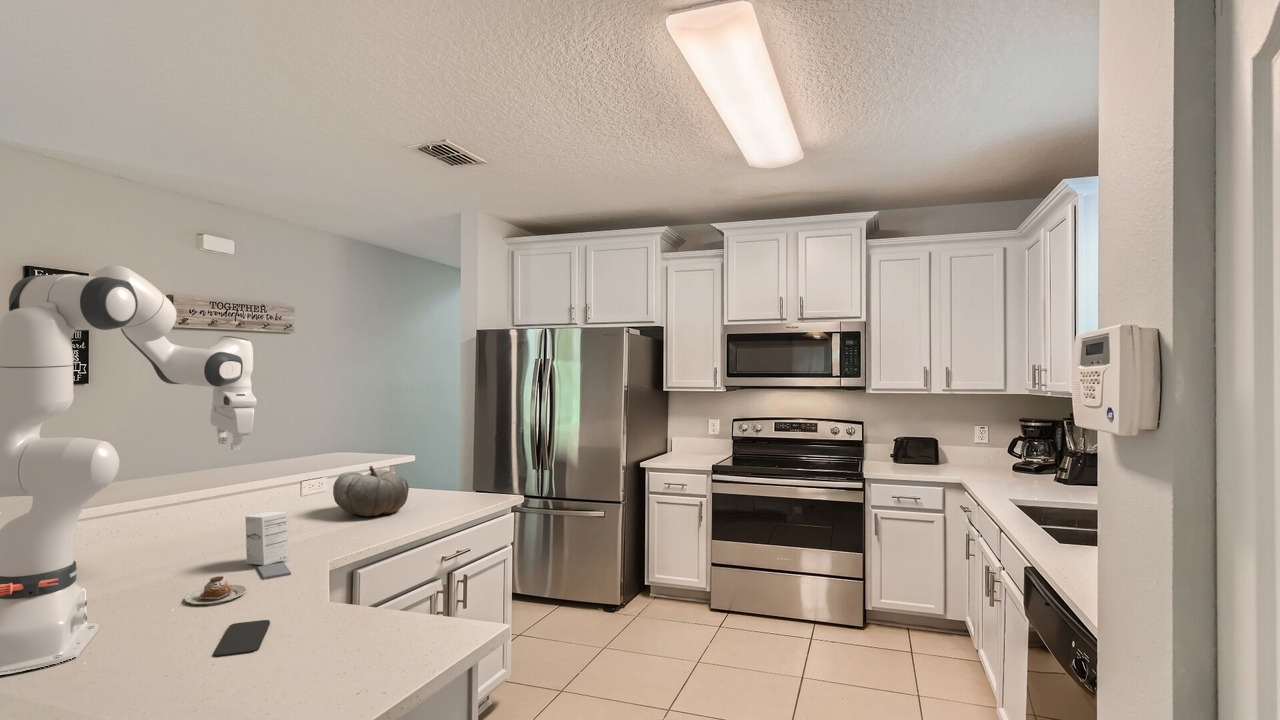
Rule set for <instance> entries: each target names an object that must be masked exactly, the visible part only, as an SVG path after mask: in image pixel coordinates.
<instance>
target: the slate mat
mask: <svg viewBox="0 0 1280 720" xmlns="http://www.w3.org/2000/svg"><path fill="white" fill-rule="evenodd" d="M257 571H258V572H259V574H260V575H261V577H262V579H263V580H268V579H274V578H279V577H286V576H291V575H292V572H291V570H290V569H289V568H288V566H287V565H286V563H285V562H283V561H282V562H276V563H272V564H268V565H265V566H263V565H258V566H257Z"/></svg>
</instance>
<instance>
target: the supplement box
mask: <svg viewBox="0 0 1280 720" xmlns="http://www.w3.org/2000/svg"><path fill="white" fill-rule="evenodd" d="M288 532H289V529H288V512H286V511H285V512H284V511H265V512H260V513H255V514H254V513H253V514H251V515H246V516H245V541H246V542H245V546H246V547H245V548H246V549H245V550H246V564H247V565H258V566H265V565H270V564H277V563H280V562H283V561H287V560H289V558H290V557H289V554H290V553H289V533H288Z"/></svg>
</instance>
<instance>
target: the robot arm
mask: <svg viewBox="0 0 1280 720" xmlns="http://www.w3.org/2000/svg"><path fill="white" fill-rule="evenodd" d="M177 315H178V313H177V309H176V307H175V306H174V304H173V302H172V301H171V299H169V298H168V297H167V296H166V295H165V294H164V293H163V292H162V291H160V289H158V288H157V287H156V286H154V284H152V283H151V282H150V281H149V280H147V279H146V278H144V277H143V276H141V275H140V274H138V273H137V272H135V271H134V270H132V269H130V268H128V267H125V266H123V265H118V264H117V265H115V264H114V265H107V266H104V267H102V268H101V267H100V268H99V269H97V270H96V271H94V272H93V273H92V274H91V275H90V276H89V275H80V274H74V273H68V274H67V273H64V274H63V273H61V274H49V275H48V274H36V275H30V276H26V277H25V278H22V279H20V280H18V281H17V282H16V283H15V284H14V286H13V287H12V289H11V291H10V295H9V297H8V312H6V313H5V314H3V316H2V317H1V319H0V497H1V498H4V497H5V498H7V497H32V503H31V507H30V509H29V511H28V512H26V513H24V514H21V515H20V516H17V517H16V518H13V519H11V520H10V521H8V522H7V523H5V524H4V525H3V526H2V527H1V528H0V673H1V672H2V673H3V672H8V671H10V672H11V671H16V670H22V669H26V668H33V667H39V666H45V665H50V664H53V663H57V662H62V661H64V660H68V659H71V660H73V659H72V658H74V657H76V658H78V657H79V655H80V654H82V652H83V650H85V648H84V647H87V645H88V644H89V642H90V641H91V640H92V639H93V638H94V636H95V635H96V633H97V632H98V631H99V629H100V628H99V624H98V623H94V622H93V623H92V622H90V623H89V622H87V620H88V618H87V617H88V616H87V605H88V601H87V590H86V589H85V588H84V587H82V586H80V585H79V584H77V582H76V580H77V574H78V567H77V562H76V561H75V560H74V557H75V556H74V555H75V539H76V538H75V537H76V528H77V527H76V526H77V523H78V520H79V518H80V515H81V513H82V511H83V509H84V508H85V507H86V505H87V504H88V502H90V500H91V499H92V498H93V497H94V496H95V495H97V494H98V493H100V491H102V490H104V489H105V488H107V487H108V486H109V485H110V484H111V483H112V482H113V481H114V480H115V478H116V477H117V475H118V472H119V469H120V457H119V454H118V452H117V449H116V448H115V447H114V446H113V445H112V444H111V443H110V442H109V441H107V440H106V441H105V440H102V439H95V438H88V437H81V436H77V437H76V436H75V437H74V436H73V437H41V435H40V434H41V428H42V426H43V424H44V422H46V421H49V420H51V419H53V418H54V417H57V416H59V415H61V414H63V413H64V412H66V411H67V410H69V408H70V407H71V405H72V404H73V402H74V396H75V394H74V355H73V346H72V338H73V336H74V334H75V332H76V331H95V330H101V331H109V330H116V329H120V330H121V332H122V334H123V336H124V337H125V338H126V339H127V340H128V341H129V343H130V344H132V345H133V347H135V349H136V350H137V351H139V353H141V354H142V356H144V357H145V358H146V359H147V361H149V363H150V364H151V366H152V367H153V369H154V371H155V374H156V375H157V376H158V378H159V379H160V380H161V381H162V382H164V383H166V384H169V385H190V386H197V387H210V388H213V389H212V390H213V391H212V404H211V410H210V417H209V418H210V420H209V421H210V425H211V426H214V427H216V434H217V443H218V444H219V445H226V444H227V443H228V437H227V433H229V434H232V439H233V440H232V442H231V443H230V449H231V451H235V452H236V451H240V450H241V444H242V442H243V440H244V437H245V436H250V435H251V433H252V431H253V425H254V419H255V409H254V407H257V404H258V403H257V401H258V400H257V398H256V396H255V395H254V394H253V391H252V390H253V389H252V387H253V385H252V381H251V378H252V374H253V371H254V347H253V343H252V342H251V341H250V340H249V339H247V338H243V337H237V336H233V335H232V336H231V335H223V336H220V337H219V339H218V342H216V343H215V344H213V345H212V346H209V347H207V348H201V347H199V348H198V347H189V346H184V345H178V344H175V343H172V342H170V341H169V340H168V338H167V337H165V336H166V335H167V334H168V333H169V332H170V331H171V330H172V329H173V328H174V326H175V324H176V321H177ZM81 651H82V652H81ZM74 659H75V658H74ZM68 661H69V660H68ZM62 663H63V662H62Z"/></svg>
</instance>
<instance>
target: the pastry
mask: <svg viewBox="0 0 1280 720" xmlns="http://www.w3.org/2000/svg"><path fill="white" fill-rule="evenodd" d="M247 590H248V589H247V587H246V586H244V585H241V584H231V583H230V582H229V581H228V580H226V579H224V576H215V577H211V578H210V579H209V581H208V582H207V583H206V584H205V585H204V587H203V588H201V589H197V590H196V591H192V592H190V593H188V594H187V595H186V596H185V598H184V601H185V603H187V604H189V605H192V606H215V605H220V604H225V603H230V602H231V601H232V600H233V599H235V598H238V597H240V596H242V595H244V594H245V593H247ZM232 593H234V594H235V595H234V596H232V597H231V596H230V597H229V598H227V597H228V596H229V595H231V594H232ZM198 598H199V599H201V600H203V601H207V602H201V601H197V599H198ZM224 598H226V599H224ZM208 601H210V602H208Z"/></svg>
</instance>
